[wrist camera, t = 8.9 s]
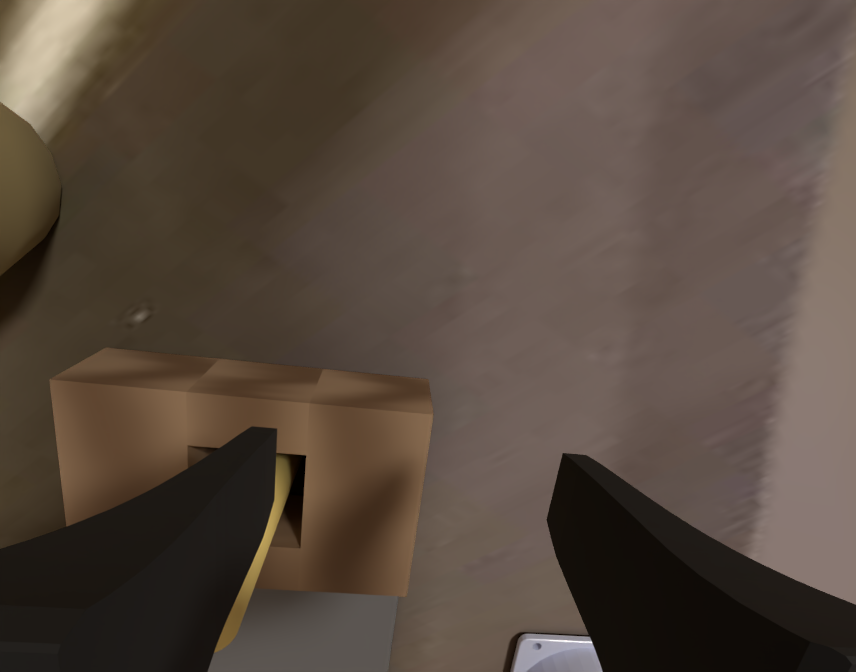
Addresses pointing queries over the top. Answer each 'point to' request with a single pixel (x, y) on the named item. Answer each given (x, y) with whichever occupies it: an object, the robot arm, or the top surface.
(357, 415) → the walnut block
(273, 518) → the peg
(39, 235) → the squeeze bottle
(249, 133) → the top surface
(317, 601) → the mat
